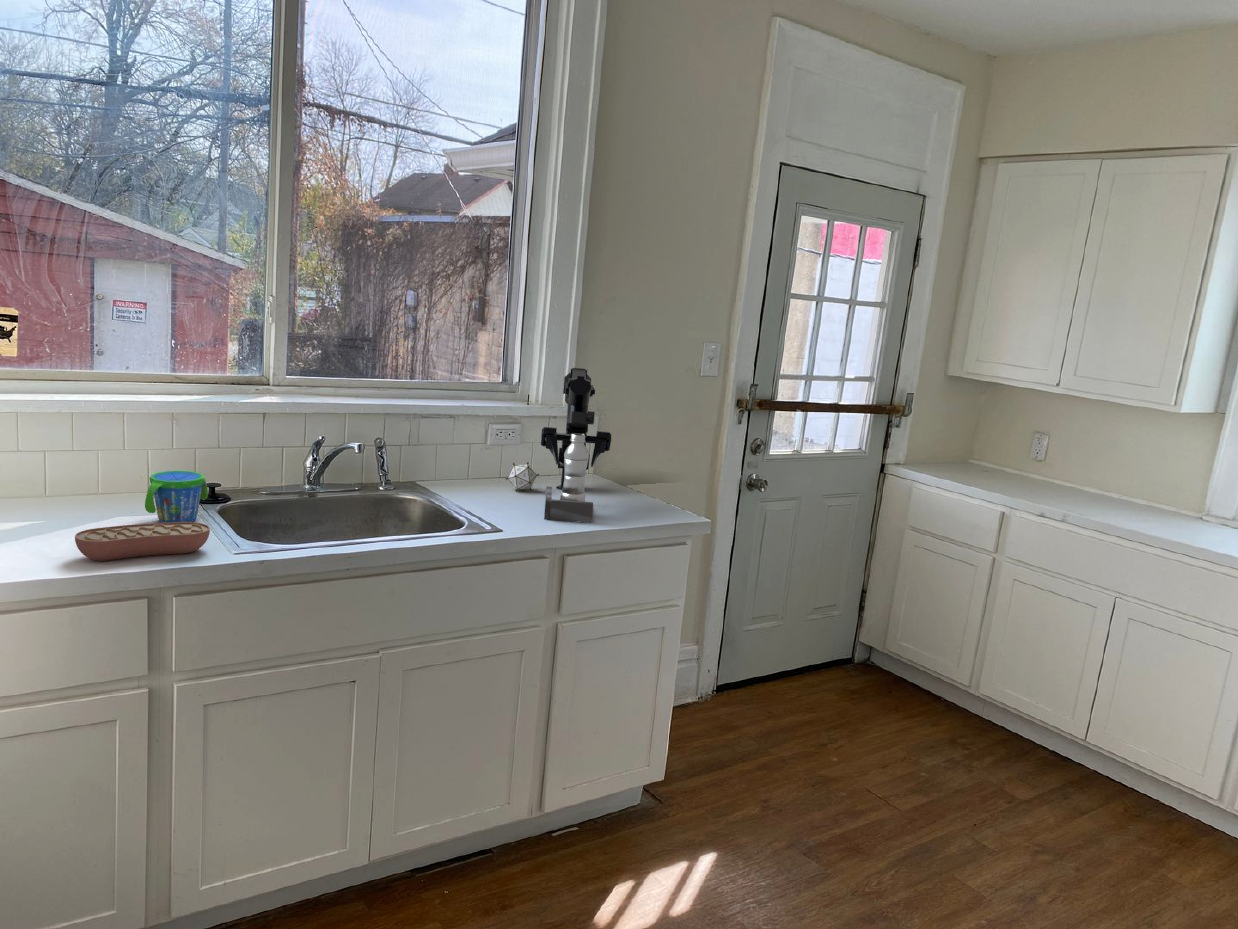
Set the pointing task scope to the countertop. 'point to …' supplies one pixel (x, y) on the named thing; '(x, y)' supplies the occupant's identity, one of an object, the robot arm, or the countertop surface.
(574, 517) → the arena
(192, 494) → the snack cup
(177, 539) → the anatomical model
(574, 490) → the plastic bottle
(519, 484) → the game die
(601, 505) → the countertop surface
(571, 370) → the robot arm
